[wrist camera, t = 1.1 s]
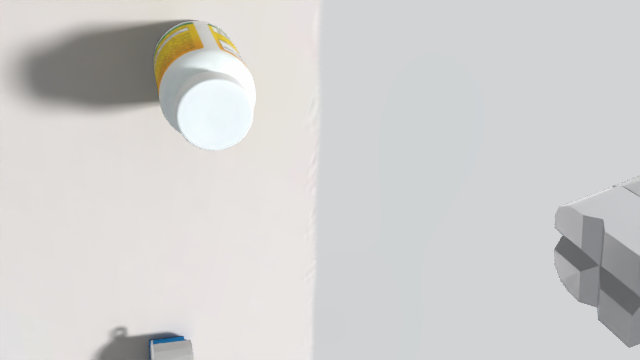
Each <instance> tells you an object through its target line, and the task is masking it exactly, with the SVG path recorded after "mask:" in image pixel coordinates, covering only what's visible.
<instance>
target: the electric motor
mask: <svg viewBox="0 0 640 360" xmlns="http://www.w3.org/2000/svg"><path fill="white" fill-rule="evenodd" d="M149 352H150V360H194V355H193V349H192V343H191V341H190V340H184V337H183V336H181V337H173V338H165V339H156V340H149Z"/></svg>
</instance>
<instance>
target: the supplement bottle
mask: <svg viewBox="0 0 640 360" xmlns="http://www.w3.org/2000/svg"><path fill="white" fill-rule="evenodd" d="M153 64H154V72H155V78H156V84H157V89H158V95H159V101H160V106H161V109H162V111H163V114H164V116H165V118H166V119H167V121H168V122H169V123H170V124H171V126H172V127H173V128H175V129H176V130H177V131H178V132H180V133H181V134H182V135H183V136H184V138H185V139H186V140H187V141H188V142H190V143H191V144H193V145H194V146H196V147H198V148H201V149H205V150H222V149H226V148H229V147H231V146H233V145H235V144H236V143H238V142H239V141H240V140H242V139H243V138H244V136H245V135H246V134H247V132H248V131H249V129H250V127H251V124H252V120H253V108H254V105H255V99H256V89H255V84H254V80H253V78H252V75H251V73H250V71H249V69H248V68H247V66H246V64H245V62H244V61H243V59H242V58H241V56H240V54H239V52H238V51H237V49H236V47H235V46H234V44H233V42H232V41H231V39H230V38H229V37H228V36H227V34H226V33H225V32H223V31H222V30H221V29H220V28H218V27H217V26H215V25H213V24H210V23H207V22H203V21H186V22H183V23H180V24H178V25H176V26H174V27H173V28H171V29H170V30H168V31H167V32H166V33H165V34H164V35H163V36H162V37H161V39H160V40H159V42H158V43H157V46H156V48H155V51H154V58H153Z"/></svg>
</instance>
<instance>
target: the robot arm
mask: <svg viewBox="0 0 640 360" xmlns="http://www.w3.org/2000/svg"><path fill="white" fill-rule="evenodd" d="M555 228H556V229H557V230H558V231H559V232H560V233H561V234H562V235H563V236H562V237H561V239H560V241H559V243H558V244H557V246H556V247H555V250H554V256H555V267H556V269H557V272H558V275H559V278H560V280H561V282H562V283H563V285H564V286H565V288H566V289H567V290H568V292H569V293H570V294H571V295H572V296H573V297H574V298H576V299H577V300H578V301H579V302H581V303H585V304H588V305H591V306H594V307H597V313H598V320H599V321H600V322H602V324H604V325H605V326H606V327H607V328H608V329H609V330H610V331H611V332H613V334H614V335H616V336H617V337H618V338H619V339H620V340H621V341H622V342H623V343H624V344H625V345H627V346H628V347H633V346H635V345H638V344H640V176H638V177H636V178H633V179H630V180H627V181H625V182H622V183H620V184H617V185H615V186H613V187H612V188H608V189H605V190H603V191H600V192H597V193H594V194H592V195H589V196H587V197H584V198H581V199H578V200H576V201H573V202H570V203H568V204H565V205H562V206H560V207H559V208H558V210H557V212H556V215H555Z"/></svg>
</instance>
